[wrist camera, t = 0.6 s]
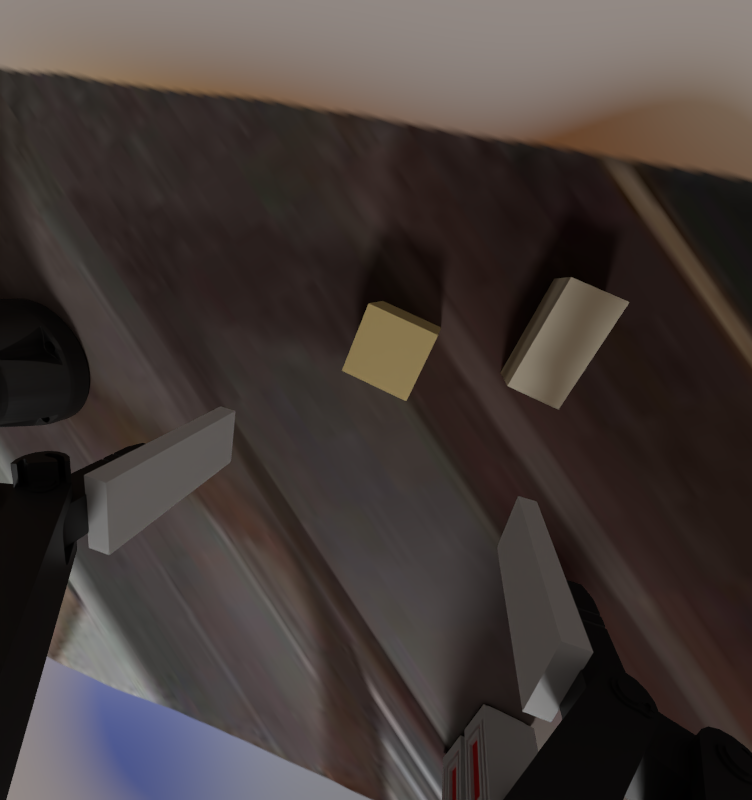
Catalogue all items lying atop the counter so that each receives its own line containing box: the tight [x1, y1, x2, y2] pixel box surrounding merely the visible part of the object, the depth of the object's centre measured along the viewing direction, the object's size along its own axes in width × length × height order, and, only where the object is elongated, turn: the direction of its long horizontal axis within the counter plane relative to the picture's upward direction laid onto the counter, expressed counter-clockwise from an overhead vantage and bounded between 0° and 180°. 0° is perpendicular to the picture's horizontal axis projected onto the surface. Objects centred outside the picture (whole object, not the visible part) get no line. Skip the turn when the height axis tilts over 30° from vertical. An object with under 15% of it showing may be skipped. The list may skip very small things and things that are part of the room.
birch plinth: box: [501, 277, 629, 409], centre depth 30 cm, size 4×9×5 cm, turn 157°
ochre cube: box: [342, 301, 441, 401], centre depth 32 cm, size 6×6×6 cm
